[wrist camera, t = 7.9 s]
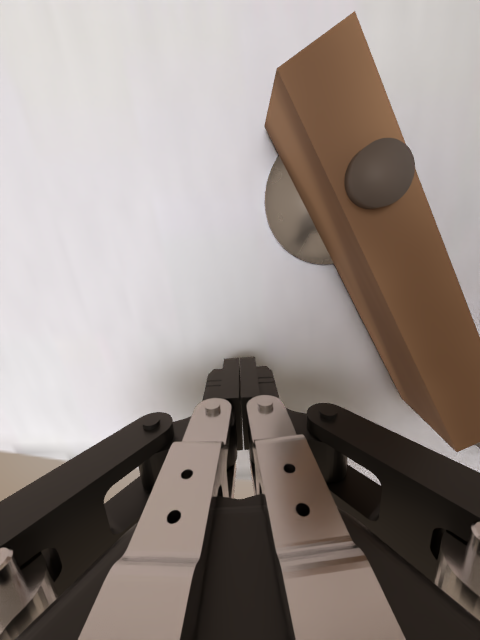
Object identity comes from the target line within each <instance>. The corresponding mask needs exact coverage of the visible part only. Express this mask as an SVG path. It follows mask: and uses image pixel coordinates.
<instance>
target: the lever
mask: <svg viewBox="0 0 480 640" xmlns="http://www.w3.org/2000/svg"><path fill="white" fill-rule="evenodd" d="M265 128H266V130H267V132H268V134H269V136H270V138H271V140H272V142H273V144H274V146H275V148H276V150H277V152H278V154H279V156H280V158H281V160H282V162H283V164H284V166H285V168H286V170H287V172H288V174H289V176H290V178H291V180H292V182H293V184H294V186H295V188H296V190H297V192H298V194H299V196H300V198H301V200H302V202H303V204H304V205H305V207H306V209H307V211H308V213H309V215H310V217H311V219H312V221H313V223H314V225H315V227H316V229H317V231H318V233H319V235H320V237H321V239H322V241H323V243H324V245H325V247H326V249H327V251H328V253H329V255H330V257H331V259H332V261H333V263H334V265H335V267H336V269H337V271H338V273H339V275H340V277H341V279H342V281H343V283H344V285H345V287H346V289H347V291H348V293H349V295H350V297H351V299H352V301H353V303H354V305H355V306H356V308H357V310H358V312H359V314H360V316H361V318H362V320H363V322H364V324H365V326H366V328H367V330H368V332H369V334H370V336H371V338H372V340H373V342H374V344H375V346H376V348H377V350H378V352H379V354H380V356H381V358H382V360H383V362H384V364H385V366H386V368H387V370H388V372H389V374H390V376H391V378H392V380H393V382H394V384H395V386H396V388H397V390H398V392H399V394H400V396H401V398H402V399H403V400H404V401H405V402H406V403H407V404H408V405H409V406H410V407H411V408H412V409H413V410H414V411H415V412H416V413H417V414H418V415H419V416H420V417H421V418H422V419H423V420H424V421H425V422H426V423H427V424H428V425H430V426H431V427H432V428H433V429H434V430H435V431H436V432H437V433H438V434H439V435H440V436H441V437H442V438H443V439H444V440H445V441H446V442H447V443H448V444H449V445H450V446H451V447H452V448H453V449H454V450H455V451H456V452H459V451H461V450H463V449H465V448H468V447H470V446H472V445H474V444H477V443H479V442H480V337H479V334H478V332H477V329H476V326H475V324H474V321H473V319H472V316H471V313H470V311H469V308H468V306H467V303H466V300H465V298H464V295H463V292H462V290H461V287H460V285H459V282H458V279H457V277H456V274H455V272H454V269H453V266H452V264H451V261H450V259H449V256H448V253H447V251H446V248H445V245H444V243H443V240H442V238H441V235H440V232H439V230H438V227H437V225H436V222H435V219H434V217H433V214H432V211H431V209H430V206H429V204H428V201H427V198H426V196H425V193H424V191H423V188H422V185H421V183H420V180H419V178H418V175H417V172H416V170H415V162H414V157H413V154H412V152H411V150H410V149H409V147H408V146H407V145H406V144H405V141H404V138H403V136H402V133H401V130H400V128H399V125H398V123H397V120H396V117H395V115H394V112H393V110H392V107H391V104H390V102H389V99H388V97H387V94H386V91H385V89H384V86H383V83H382V81H381V78H380V76H379V73H378V70H377V68H376V65H375V63H374V60H373V57H372V55H371V52H370V49H369V47H368V44H367V42H366V39H365V36H364V34H363V31H362V29H361V26H360V23H359V21H358V18H357V16H356V13H355V12H353V13H352V14H350V15H349V16H348V17H346V18H345V19H344V20H342V21H341V22H340V23H338V24H337V25H335V26H334V27H333V28H331V29H330V30H329V31H327V32H326V33H325V34H323V35H322V36H321V37H319V38H318V39H316V40H315V41H314V42H312V43H311V44H310V45H308V46H307V47H306V48H304V49H303V50H301V51H300V52H299V53H297V54H296V55H295V56H293V57H292V58H291V59H289V60H288V61H286V62H285V63H284V64H282V65H281V66H280V67H278V68H277V70H276V75H275V80H274V84H273V89H272V94H271V98H270V103H269V108H268V112H267V117H266V122H265Z"/></svg>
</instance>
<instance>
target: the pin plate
mask: <svg viewBox="0 0 480 640" xmlns="http://www.w3.org/2000/svg"><path fill="white" fill-rule="evenodd" d="M265 211H266V216H267V220H268V223H269V226H270V229H271V231H272V233H273V235H274V236H275V238H276V239H277V241H278V242H279V243H280V244H281V246H282V247H283V248H284V249H285V250H287V251H288V252H289V253H290V254H292V255H293V256H295V257H297V258H299V259H301V260H303V261H306V262H310V263H314V264H334V263H333V261H332V259H331V257H330V255H329V253H328V251H327V249H326V247H325V245H324V243H323V241H322V239H321V237H320V235H319V233H318V231H317V229H316V227H315V225H314V223H313V221H312V219H311V217H310V215H309V213H308V211H307V209H306V207H305V205H304V204H303V202H302V200H301V198H300V196H299V194H298V192H297V190H296V188H295V186H294V184H293V182H292V180H291V178H290V176H289V174H288V172H287V170H286V168H285V166H284V164H283V162H282V160H281V158H280V156H278V157H277V159H276V161H275V163H274V164H273V167H272V169H271V171H270V174H269V177H268V181H267V184H266V191H265Z"/></svg>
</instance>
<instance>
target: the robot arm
mask: <svg viewBox="0 0 480 640" xmlns="http://www.w3.org/2000/svg"><path fill="white" fill-rule="evenodd" d="M240 379H241V381H240ZM242 421H243V435H244V449H245V450H249V453H250V468H251V475H252V481H253V488H254V494H255V496H252V497H248V498H245V499H233V498H234V487H235V478H236V460H237V450H243V436H242ZM347 457H348V458H350V459H351V460H353V461H355V462H356V463H358V464H359V465H361V466H363V467H364V468H366V469H368V470H369V471H371V472H372V473H373V474H374V475H375V476H376V477H377V478H378V479H379V481H380V483H381V486H380V485H379V484H377V483H375V482H374V481H372V480H371V479H369V478H368V477H366V476H364V475H363V474H361V473H360V472H358V471H357V470H355V469H354V468H352V467H350V466H349V465H347ZM138 466H139V471H140V477H138V478H137V479H135V480H134V481H133V482H132V483H130V484H129V485H128V486H127V487H125V488H124V489H123V490H121V491H120V492H119V493H118V494H116V495H115V496H114V497H112V498H111V499H110V500H109V501H107V502H106V503H105V504H104V497H105V495H106V493H107V491H108V490H109V489H110V488H111V487H112V486H113V485H114V484H115V483H116V482H118V481H119V480H120V479H122V478H123V477H125V476H126V475H127V474H129V473H130V472H131V471H133V470H134V469H135V468H137V467H138ZM0 640H480V473H479V472H477V471H475V470H473V469H470V468H468V467H466V466H464V465H462V464H460V463H458V462H456V461H454V460H451V459H449V458H447V457H445V456H443V455H441V454H439V453H437V452H435V451H432V450H430V449H428V448H426V447H424V446H422V445H420V444H418V443H416V442H413V441H411V440H409V439H407V438H405V437H403V436H401V435H399V434H397V433H394V432H392V431H390V430H388V429H386V428H384V427H382V426H380V425H377V424H375V423H373V422H371V421H369V420H367V419H365V418H363V417H361V416H358V415H356V414H354V413H352V412H350V411H348V410H346V409H344V408H342V407H339V406H337V405H334V404H330V403H319V404H315V405H312V406H311V407H310V408H309V409H308V411H307V414H305V413H299V412H294V411H291V410H289V409H287V408H285V405H284V403H283V402H282V400H280V399H279V396H278V392H277V388H276V384H275V381H274V378H273V373H272V371H271V370H270V369H269V368H268V367H267V366H260V367H256V362H255V357H246V358H240V366H239V358H230V359H224V364H223V369H214V370H213V371H212V372H211V373H210V374H209V375H208V378H207V383H206V387H205V392H204V396H203V401H202V402H200V403H199V404H198V405H197V406H196V407H195V409H194V411H193V414H192V416H191V417H188V418H186V419H183V420H179V421H175V422H173V421H172V417H171V416H170V415H169V414H167V413H162V412H156V413H151V414H147V415H145V416H143V417H141V418H139V419H137V420H136V421H134V422H132V423H131V424H129V425H127V426H126V427H124V428H122V429H121V430H119V431H117V432H116V433H114V434H112V435H111V436H109V437H107V438H106V439H104V440H102V441H101V442H99V443H97V444H96V445H94V446H92V447H91V448H89V449H87V450H86V451H84V452H82V453H81V454H79V455H77V456H76V457H74V458H72V459H71V460H69V461H67V462H66V463H64V464H62V465H61V466H59V467H58V468H56V469H54V470H52V471H51V472H49V473H47V474H46V475H44V476H42V477H41V478H39V479H37V480H36V481H34V482H33V483H31V484H29V485H27V486H26V487H24V488H22V489H21V490H19V491H17V492H16V493H14V494H13V495H11V496H9V497H7V498H6V499H4V500H2V501H1V502H0Z"/></svg>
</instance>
